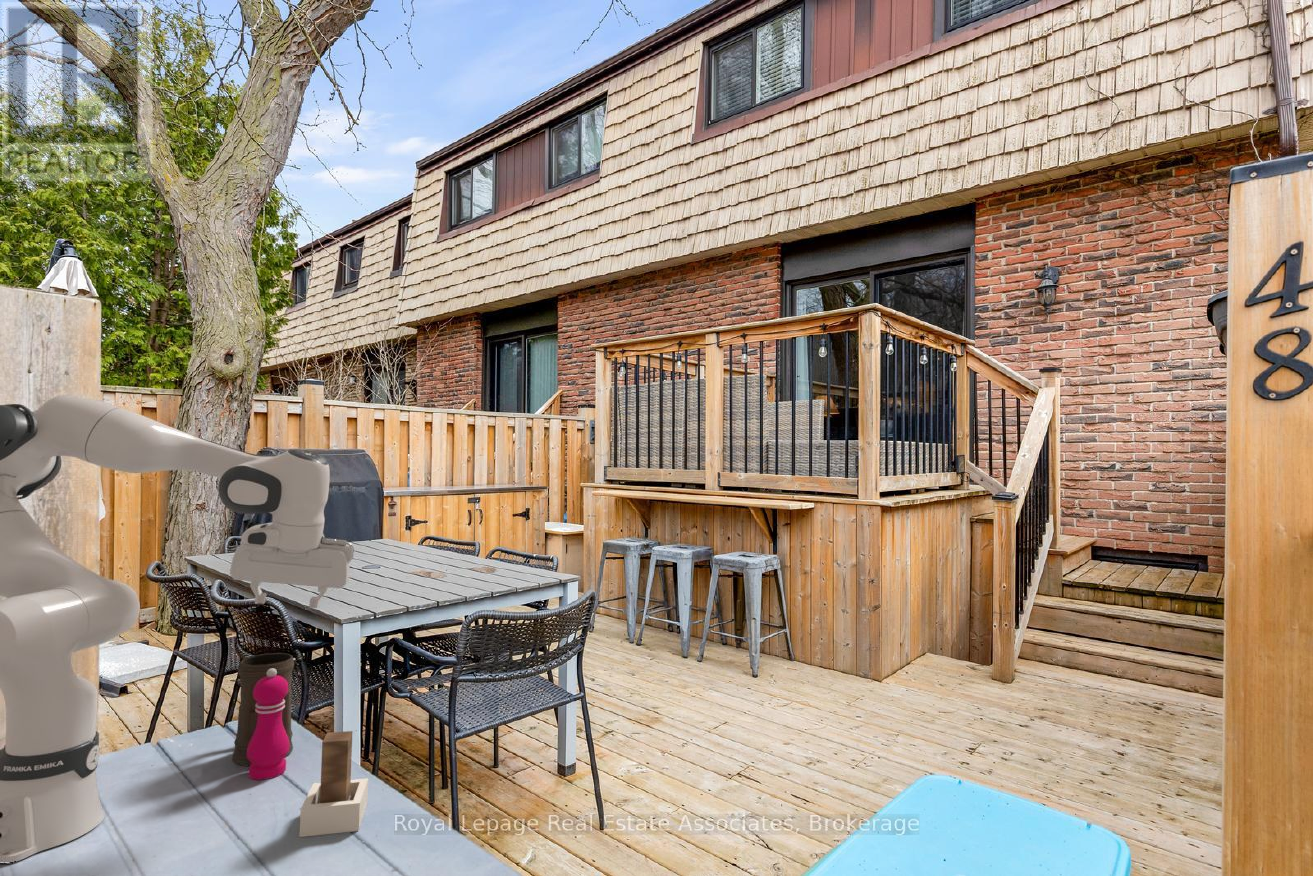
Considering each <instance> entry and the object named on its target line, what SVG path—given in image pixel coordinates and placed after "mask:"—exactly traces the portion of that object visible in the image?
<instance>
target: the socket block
mask: <svg viewBox="0 0 1313 876" xmlns="http://www.w3.org/2000/svg"><path fill="white" fill-rule="evenodd" d="M320 788H321V782H314V783H312V785H311V788H310V789H309V791H308V793H307V795H306V797H305V800H304V801H303V803H302V806H301V808H300V814H299V816H300V818H299V838H303V837H314V836H321V835H322V836H323V835H331V834H333V835H334V834H341V833H350V832H358V831H357V830H359V831H360V829H361V825H362V822H363V818H364V816H363V815H365V813H366V810H367V809H366V808H367V806H368V796H369V795H368V794H369V778H368V777H366V778H357V779H351V783H350V795H351V801H341V802H330V803H320Z"/></svg>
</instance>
